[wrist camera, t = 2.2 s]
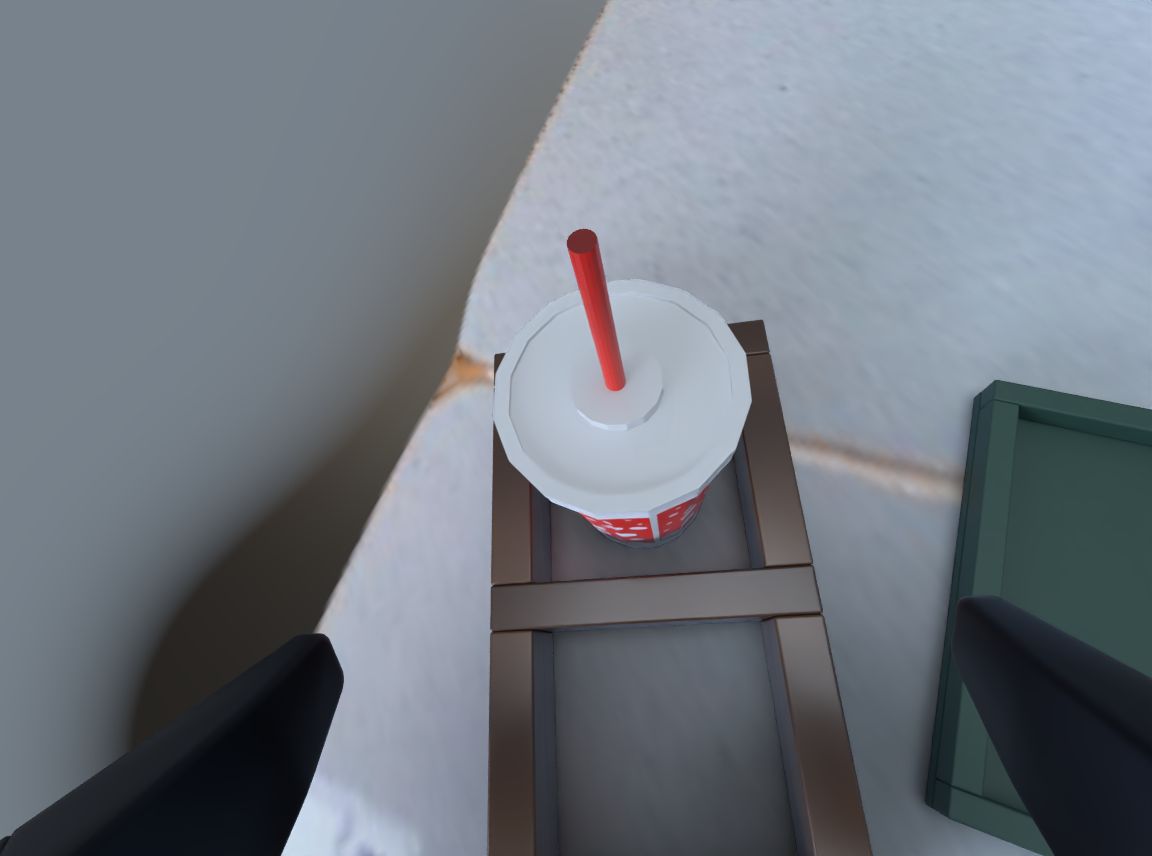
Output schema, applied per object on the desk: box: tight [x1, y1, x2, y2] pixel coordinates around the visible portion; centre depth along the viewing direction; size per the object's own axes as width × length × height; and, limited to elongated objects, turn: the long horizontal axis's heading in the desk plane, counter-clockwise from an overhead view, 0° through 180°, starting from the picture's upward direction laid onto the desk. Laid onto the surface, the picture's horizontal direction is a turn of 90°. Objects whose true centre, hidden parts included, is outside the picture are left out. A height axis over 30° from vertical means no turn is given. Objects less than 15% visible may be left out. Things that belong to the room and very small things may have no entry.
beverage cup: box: [493, 229, 752, 548], centre depth 15 cm, size 6×6×14 cm
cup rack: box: [487, 320, 873, 856], centre depth 18 cm, size 19×10×3 cm, turn 3°
